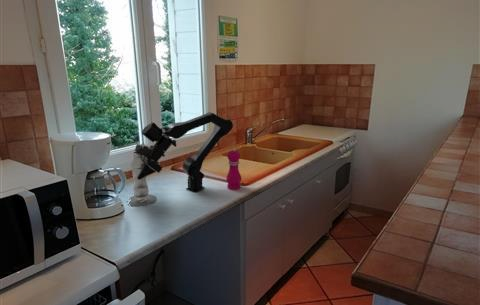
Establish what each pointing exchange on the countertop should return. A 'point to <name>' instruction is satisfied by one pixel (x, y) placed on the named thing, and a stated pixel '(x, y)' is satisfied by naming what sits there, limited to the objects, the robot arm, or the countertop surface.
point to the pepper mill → (233, 170)
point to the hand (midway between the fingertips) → (136, 176)
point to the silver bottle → (137, 166)
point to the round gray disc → (142, 200)
